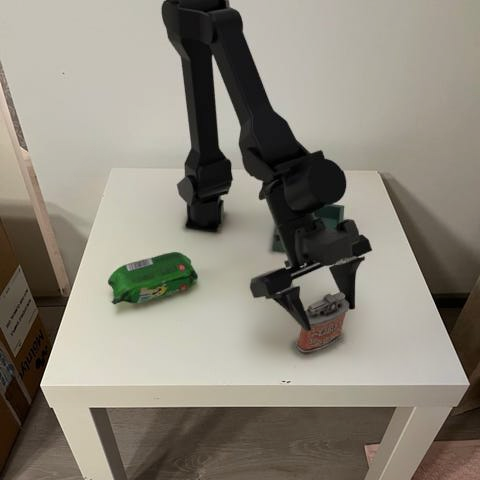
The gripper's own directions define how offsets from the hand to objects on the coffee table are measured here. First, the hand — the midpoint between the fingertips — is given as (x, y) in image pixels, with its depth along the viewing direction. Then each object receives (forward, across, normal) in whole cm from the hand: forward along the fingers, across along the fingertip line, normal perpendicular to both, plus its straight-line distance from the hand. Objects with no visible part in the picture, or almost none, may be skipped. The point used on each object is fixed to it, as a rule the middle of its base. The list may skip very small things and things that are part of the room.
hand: (330, 319), depth 72 cm
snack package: (-13, -17, +23) cm, 32 cm away
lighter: (+4, 0, +6) cm, 7 cm away
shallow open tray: (-12, +15, +22) cm, 29 cm away
